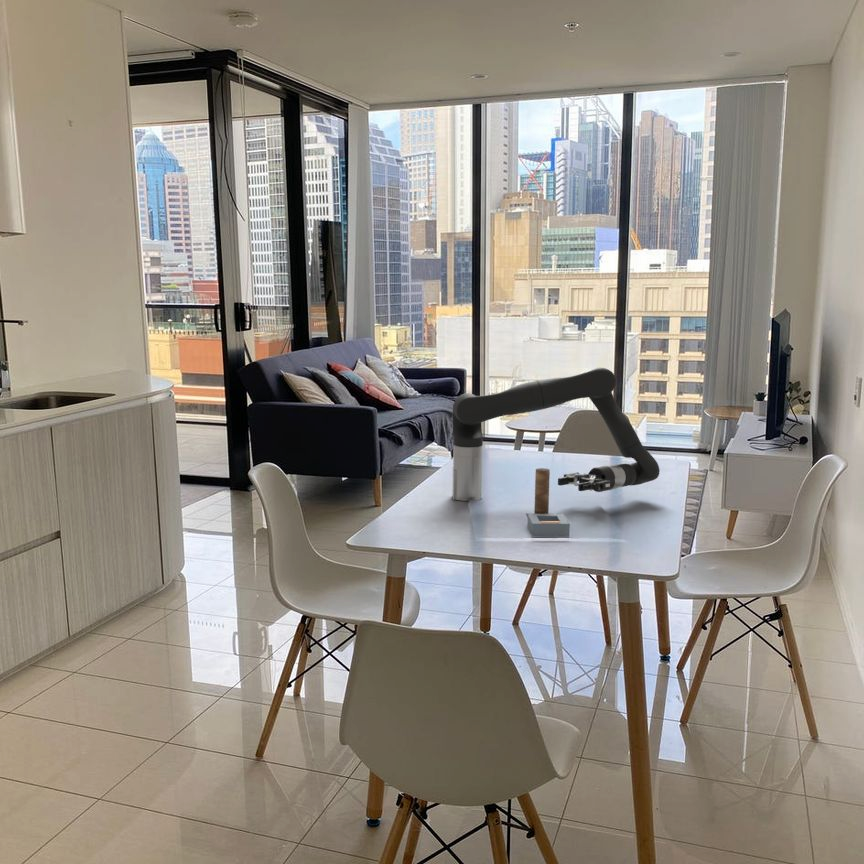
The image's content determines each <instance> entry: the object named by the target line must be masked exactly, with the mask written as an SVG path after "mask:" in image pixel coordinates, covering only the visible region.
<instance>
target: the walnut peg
mask: <svg viewBox="0 0 864 864" xmlns="http://www.w3.org/2000/svg"><path fill="white" fill-rule="evenodd" d="M550 474H551V473H550V469H549V468H543V467H542V468H536V469H535V474H534V475H535V481H534V484H535V485H534V487H535V488H534V489H535V490H534V511H533V512H534V513H533V514H549V511H550V510H549V507H550V505H549V504H550V503H549V502H550V500H549V499H550Z"/></svg>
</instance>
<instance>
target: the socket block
mask: <svg viewBox="0 0 864 864" xmlns="http://www.w3.org/2000/svg"><path fill="white" fill-rule="evenodd" d="M527 514H528V517H527V527H528V529H529V531H530V534H531V536H532V537H531V539H556V537H553V536H570V525H571V524H570V522H569V520H568V518H567V517H566V515H565V514H564V513H548V514H534V513H527ZM533 536H536V537H533ZM537 536H539V537H537ZM540 536H542V537H540ZM543 536H550V537H543Z"/></svg>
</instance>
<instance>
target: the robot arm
mask: <svg viewBox="0 0 864 864" xmlns="http://www.w3.org/2000/svg"><path fill="white" fill-rule="evenodd" d="M616 385H617V377H616V375H615V373H613V371H612V370H610V369H608V368H605V367H596V368H594V369H591V370H588V371H586V372H582V373H579V374H576V375H571V376H564V377H554V378H546V379H539V380H533V381H529V382H524V383H520V384H517V385H515V386H512V387H510V388H507V389H506V390H503V391H500V392H497V393H493V394H492V393H491V394H485V395H475V394H473V393H469V392H468V393H467V392H466V393H462V394H460V395H458V396H457V397H456V398H455V400H454V402H453V405H452V437H453V438H452V439H453V452H452V454H453V457H452V458H453V459H452V461H453V462H452V465H453V467H452V501H460V502H461V501H462V502H469V501H480V500H481V499H482V493H483V489H482V488H483V451H484V450H483V449H484V447H483V445H484V443H483V442H484V439H483V432H482V431H483V430H482V423H483V422H486V421H489V420H492V419H496V418H499V417H504V416H513V415H519V414H525V413H532V412H537V411H541V410H546V409H549V408H552V407H557V406H559V405H562V404H565V403H568V402H571V401H574V400H580V399H586V398H589V399H590V401H591V402H592V403H593V405H594V407H595V408H596V410H597V411H598V413H599V414H600V415H601V417H602V419H603V421H604V422H605V424H606V426H607V428H608V431H609V432H610V434H611V436H612V438H613V441H614V442H615V444H616V446H617V448H618V450H619V452H620V454H621V455H622V457H623V458H626V459H633V460H634V461H635V462H632V463H630V464H629V463H620V464H611V465H610V464H609V465H603V466H597V467H593V468H592V469H590V471H589V472H588V473H587V472H586V473H581V474H580V472H578V471H577V472H571V473H565V474H564V473H563V477H559V478H557V485H558V486H565V485H573V486H575V487H577V488H578V489H577V491H579V492H586V491H591V492H592V491H594V492H596V493H601V492H606V491H612V490H616V489H618V488H619V489H620V488H622V487H623V488H625V487H628V486H639V485H642V484H645V483H648V482H652V481H655V480H656V479H658V477H659V476H660V473H661V472H660V471H661V470H660V465H659V463H658V462H657V460H656V459H655V458H654V456H653V455H652V454H651V453H650V452H649V451H648V449H646V448H645V446H644V445H643V444H642V442H641V440H640V438H639V435H638V434H637V432H636V431H635V428H634V426H633V425H632V423H631V422H630V421H629V419H628V418H627V416H626V415H625V414H624V413H623V412H622V410H621V408H620V407H619V406H618V403H617V402H616V400H615V398H614V395H613V391H614V390H615V388H616Z"/></svg>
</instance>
